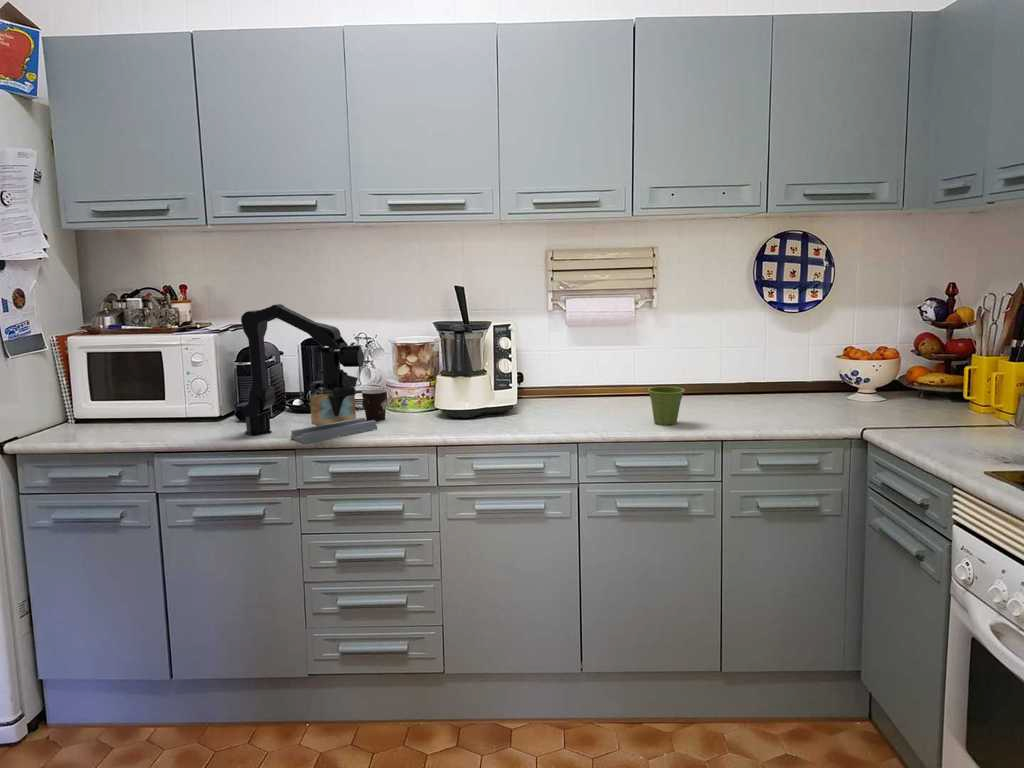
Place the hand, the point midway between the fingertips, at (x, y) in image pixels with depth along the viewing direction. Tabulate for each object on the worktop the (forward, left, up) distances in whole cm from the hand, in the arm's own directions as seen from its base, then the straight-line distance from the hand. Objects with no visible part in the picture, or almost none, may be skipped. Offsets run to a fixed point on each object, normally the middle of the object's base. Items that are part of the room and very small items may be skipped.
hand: (333, 415), depth 247 cm
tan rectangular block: (0, 0, -2) cm, 2 cm away
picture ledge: (0, 0, -6) cm, 6 cm away
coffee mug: (+20, +9, -6) cm, 23 cm away
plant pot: (+81, -70, -6) cm, 107 cm away
